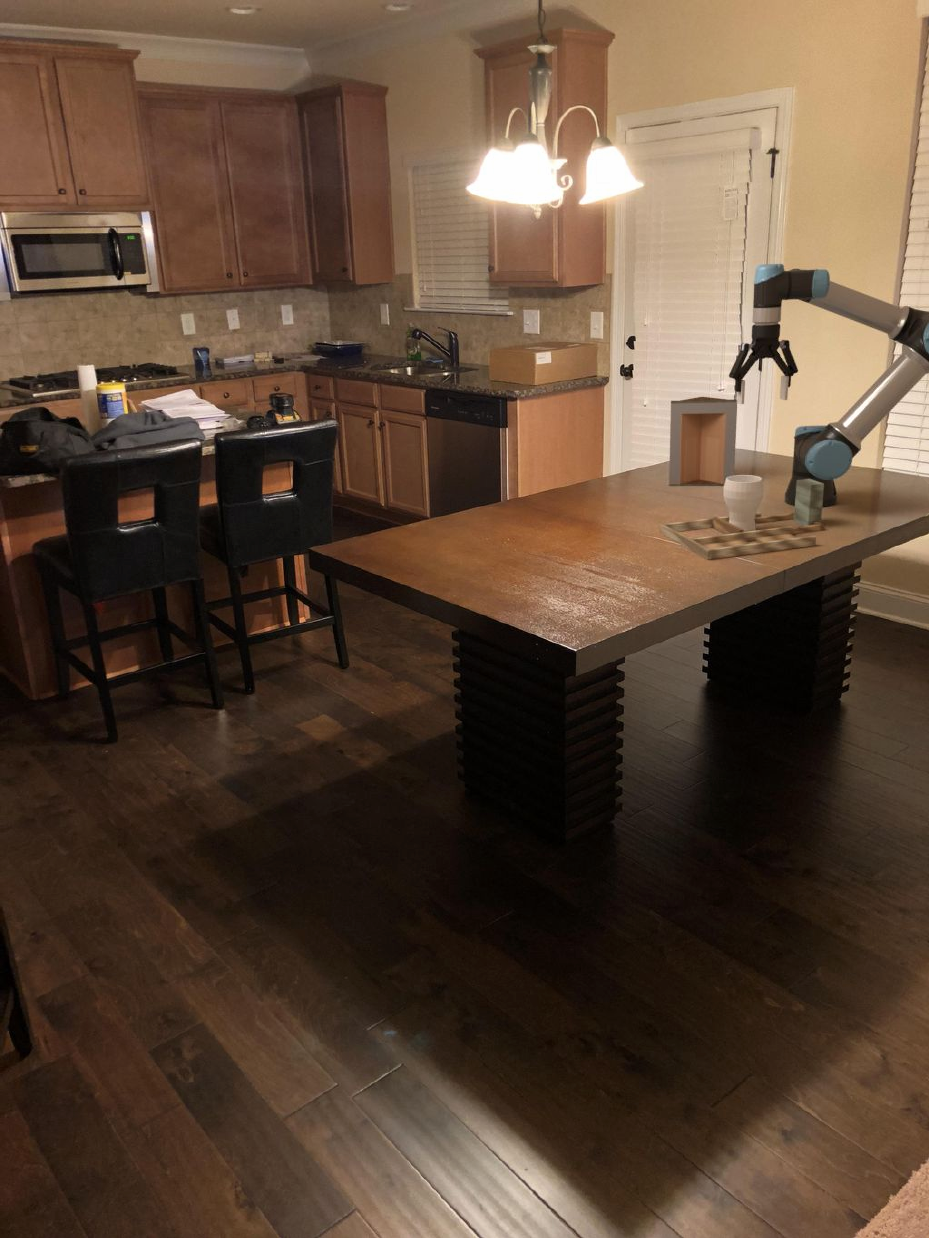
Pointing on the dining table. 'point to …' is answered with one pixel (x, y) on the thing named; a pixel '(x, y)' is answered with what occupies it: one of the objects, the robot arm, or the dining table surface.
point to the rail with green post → (805, 513)
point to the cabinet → (702, 441)
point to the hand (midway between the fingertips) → (762, 401)
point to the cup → (743, 500)
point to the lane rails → (734, 539)
